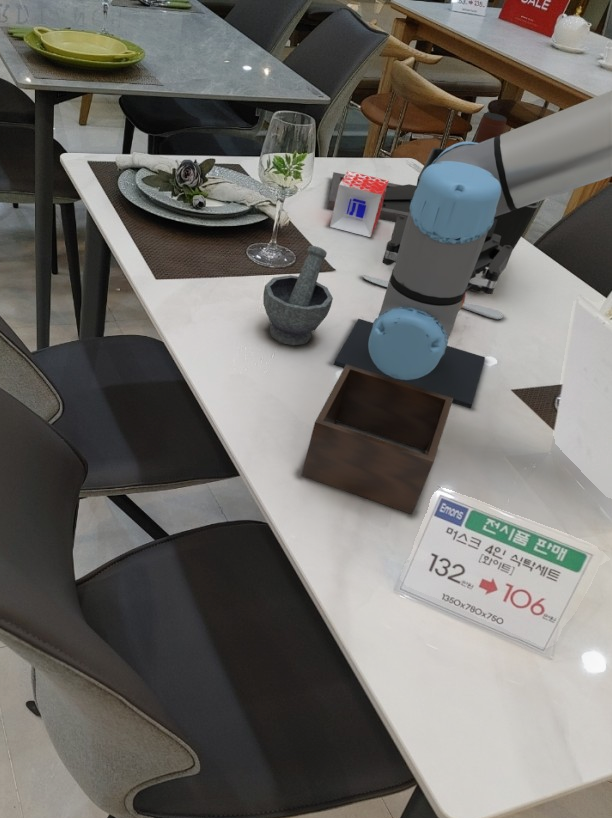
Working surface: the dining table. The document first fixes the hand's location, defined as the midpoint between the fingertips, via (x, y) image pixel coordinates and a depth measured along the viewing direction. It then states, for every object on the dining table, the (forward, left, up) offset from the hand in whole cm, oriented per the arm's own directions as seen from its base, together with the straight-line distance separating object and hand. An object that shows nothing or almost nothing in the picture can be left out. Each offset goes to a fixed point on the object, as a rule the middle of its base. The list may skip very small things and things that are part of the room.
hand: (460, 220), depth 102 cm
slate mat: (0, +5, -20) cm, 20 cm away
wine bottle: (0, +5, -16) cm, 17 cm away
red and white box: (+20, -38, -20) cm, 47 cm away
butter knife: (+1, -17, -20) cm, 26 cm away
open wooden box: (0, +31, -20) cm, 37 cm away
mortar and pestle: (+18, +7, -20) cm, 28 cm away
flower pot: (0, -30, -20) cm, 36 cm away
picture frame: (+18, -52, -20) cm, 59 cm away
